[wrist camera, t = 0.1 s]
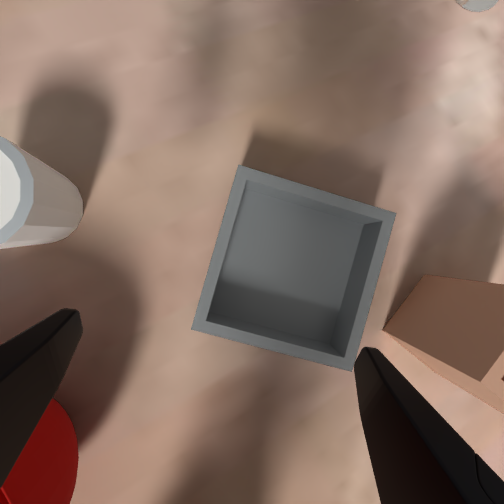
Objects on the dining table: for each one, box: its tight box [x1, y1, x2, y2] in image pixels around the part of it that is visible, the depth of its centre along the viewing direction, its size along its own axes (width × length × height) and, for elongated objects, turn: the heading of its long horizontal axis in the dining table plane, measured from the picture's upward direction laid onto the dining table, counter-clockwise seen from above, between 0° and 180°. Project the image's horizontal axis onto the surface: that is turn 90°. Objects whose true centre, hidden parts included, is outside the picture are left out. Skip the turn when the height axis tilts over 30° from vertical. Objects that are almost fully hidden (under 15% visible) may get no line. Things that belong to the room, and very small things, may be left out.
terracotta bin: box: [383, 275, 504, 414], centre depth 21 cm, size 6×6×10 cm
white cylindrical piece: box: [0, 136, 83, 249], centre depth 20 cm, size 7×7×7 cm
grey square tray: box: [191, 165, 396, 372], centre depth 23 cm, size 12×12×4 cm
